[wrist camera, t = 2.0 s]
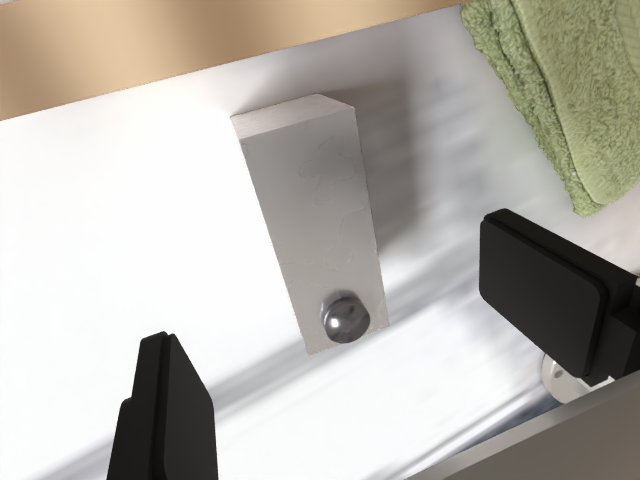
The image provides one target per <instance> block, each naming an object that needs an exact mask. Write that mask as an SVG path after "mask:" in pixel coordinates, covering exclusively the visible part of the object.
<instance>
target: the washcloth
mask: <svg viewBox="0 0 640 480" xmlns="http://www.w3.org/2000/svg"><path fill="white" fill-rule="evenodd" d="M460 13H461V17H462V22H463V24H464V26H465V27H466V28H467V30H469V31H470V34H471V35H472V37H473V40H474V44H475V48H476V49H478V50H479V51H480V52H481V53H484V55H485V57H486V59H488V63H489V64H490V65H491V66H492V67H493V69H494V71H495V73H496V75H497V76H498V77H499V78H500V79H502V80H503V81H504V83H505V85H506V88H507V91H506V92H507V95H508V96H509V97H510V98H511V100H512V101H513V103H514V105H515V107H516V108H517V110H518V111H520V112H521V113H522V114H523V116H524V117H525V118H526V120H525V121H526V122H527V123H528V124H530V125H532V126H533V128H532V130H533V131H534V133H535V134H536V135H537V137H536V139H535V140H536V141H537V142H539V143H540V145H539V146H538V147H539V148H544V150H543V153H548V154H547V159H548V160H549V159H551V162H552V163H554V170H556V171H557V174H560V176H561V177H560V179H561V180H562V181H564V180H565V182H566V184H565V190H568V192H569V193H570V196H571V198H572V202H573V203H574V210H573V211H574V212H575V213H576V214H578V215H579V216H581V217H589V216H593V215H594V214H596V213H598V212H599V211H601V210H602V209H603V208H605V207H606V206H607V205H608V204H610V203H613V202H614V201H616V200H618V199H619V198H621V197H622V196H623V195H625V194H626V193H627V192H628V191H629V190H630V189H631V188H632V187H633V186H634V185H636V184H637V183H638V182H639V181H640V0H474V1H470V2H466V3H462V4H461V11H460Z"/></svg>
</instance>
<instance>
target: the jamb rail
mask: <svg viewBox="0 0 640 480" xmlns="http://www.w3.org/2000/svg"><path fill="white" fill-rule="evenodd" d="M470 1H474V0H20V1H15V2H10V3H6V4H1V5H0V121H2V120H6V119H10V118H14V117H18V116H22V115H26V114H30V113H34V112H37V111H41V110H45V109H49V108H53V107H57V106H61V105H65V104H69V103H73V102H77V101H81V100H85V99H89V98H92V97H96V96H100V95H104V94H108V93H112V92H116V91H120V90H124V89H128V88H132V87H136V86H140V85H144V84H147V83H151V82H155V81H159V80H163V79H167V78H171V77H175V76H179V75H183V74H187V73H191V72H195V71H199V70H203V69H206V68H210V67H214V66H218V65H222V64H226V63H230V62H234V61H238V60H242V59H246V58H250V57H254V56H258V55H261V54H265V53H269V52H273V51H277V50H281V49H285V48H289V47H293V46H297V45H301V44H305V43H309V42H313V41H316V40H320V39H324V38H328V37H332V36H336V35H340V34H344V33H348V32H352V31H356V30H360V29H364V28H368V27H372V26H375V25H379V24H383V23H387V22H391V21H395V20H399V19H403V18H407V17H411V16H415V15H419V14H423V13H427V12H430V11H434V10H438V9H442V8H446V7H450V6H454V5H458V4H462V3H466V2H470Z"/></svg>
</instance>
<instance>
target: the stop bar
mask: <svg viewBox="0 0 640 480" xmlns="http://www.w3.org/2000/svg"><path fill="white" fill-rule="evenodd" d="M230 120H231V123H232V126H233V129H234V132H235V135H236V138H237V141H238V144H239V147H240V151H241V154H242V157H243V160H244V163H245V166H246V169H247V172H248V175H249V178H250V181H251V184H252V187H253V190H254V194H255V197H256V200H257V203H258V206H259V209H260V212H261V215H262V218H263V221H264V224H265V227H266V230H267V233H268V237H269V240H270V243H271V246H272V249H273V252H274V255H275V258H276V261H277V264H278V267H279V270H280V273H281V276H282V280H283V283H284V286H285V289H286V292H287V295H288V298H289V301H290V304H291V307H292V309H293V312H294V315H295V318H296V321H297V324H298V327H299V330H300V333H301V336H302V338H303V341H304V344H305V347H306V350H307V353H308V356H310V355H313V354H315V353H318V352H321V351H323V350H326V349H329V348H331V347H334V346H337V345H339V344H342V343H350V342H353V341H355V340H357V339H358V338H360V337H361V336H363V335H366V334H369V333H371V332H374V331H377V330H379V329H382V328H385V327H387V326H390V325H389V319H388V313H387V307H386V300H385V294H384V288H383V282H382V275H381V269H380V263H379V257H378V251H377V244H376V238H375V232H374V226H373V219H372V213H371V207H370V201H369V195H368V188H367V182H366V176H365V170H364V164H363V157H362V151H361V145H360V139H359V132H358V126H357V120H356V114H355V108H354V107H353V106H351V105H348V104H345V103H342V102H340V101H337V100H334V99H331V98H329V97H326V96H323V95H320V94H318V93H315V94H312V95H308V96H305V97H301V98H297V99H294V100H290V101H286V102H283V103H279V104H275V105H272V106H268V107H264V108H261V109H257V110H253V111H250V112H246V113H242V114H239V115H235V116H232V117H230Z"/></svg>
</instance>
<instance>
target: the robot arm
mask: <svg viewBox="0 0 640 480" xmlns="http://www.w3.org/2000/svg"><path fill="white" fill-rule="evenodd" d="M479 291H480V294H481V296H482V298H483V299H484V300H485V301H486V302H487V303H488V304H489V305H491V306H492V307H493V308H494V309H495V310H496V311H498V312H499V313H500V314H501V315H502V316H503V317H504V318H506V319H507V320H508V321H509V322H510V323H511V324H512V325H514V326H515V327H516V328H517V329H518V330H519V331H521V332H522V333H523V334H524V335H525V336H526V337H527V338H529V339H530V340H531V341H532V342H533V343H534V344H535V345H537V346H538V347H539V348H540V349H541V350H542V351H544V352H545V353H546V354H545V357H544V359H543V364H542V370H541V374H542V382H543V384H544V387H545V388H546V389H547V390H548V392H549V393H550V394H551V395H552V396H553V397H554V398H555V399H557V400H558V401H559V402H561V403H565V404H564V405H562V406H559V407H557V408H555V409H553V410H551V411H549V412H546V413H544V414H542V415H540V416H538V417H536V418H533V419H531V420H529V421H527V422H525V423H523V424H521V425H519V426H516V427H514V428H512V429H510V430H508V431H506V432H504V433H502V434H499V435H497V436H495V437H493V438H491V439H489V440H487V441H484V442H482V443H480V444H478V445H476V446H474V447H472V448H470V449H467V450H465V451H463V452H461V453H459V454H457V455H455V456H453V457H451V458H448V459H446V460H444V461H442V462H440V463H438V464H436V465H434V466H431V467H429V468H427V469H425V470H423V471H421V472H419V473H417V474H415V475H412V476H410V477H408V478H406V479H404V480H640V278H638V277H637V276H635V275H633V274H631V273H630V272H628V271H626V270H624V269H622V268H620V267H618V266H616V265H614V264H612V263H610V262H608V261H606V260H605V259H603V258H601V257H599V256H597V255H595V254H593V253H591V252H589V251H587V250H585V249H583V248H582V247H580V246H578V245H576V244H574V243H572V242H570V241H568V240H566V239H564V238H562V237H560V236H558V235H557V234H555V233H553V232H551V231H549V230H547V229H545V228H543V227H541V226H539V225H537V224H535V223H533V222H532V221H530V220H528V219H526V218H524V217H522V216H520V215H518V214H516V213H514V212H512V211H510V210H508V209H505V208H504V209H500V210H497V211H495V212H492V213H489V214H487V215H485V217H484V220H483V221H482V222H481V224H480V266H479ZM106 480H218V466H217V451H216V436H215V421H214V408H213V403H212V399H211V397H210V395H209V393H208V391H207V390H206V388H205V386H204V384H203V382H202V381H201V379H200V377H199V375H198V374H197V372H196V370H195V368H194V367H193V365H192V363H191V361H190V360H189V358H188V356H187V354H186V353H185V351H184V349H183V347H182V345H181V344H180V342H179V340H178V338H177V337H176V335H175V334H170V335H168V334H167V333H166V332H165V331H162V332H160V333H157V334H154V335H151V336H148V337H146V338H143V339H142V340H141V342H140V347H139V354H138V360H137V366H136V372H135V378H134V384H133V390H132V396H131V397H130V398H128V399H125V400H124V401H123V402H122V404H121V407H120V411H119V416H118V421H117V427H116V432H115V437H114V442H113V448H112V453H111V458H110V463H109V469H108V474H107V479H106Z"/></svg>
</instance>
